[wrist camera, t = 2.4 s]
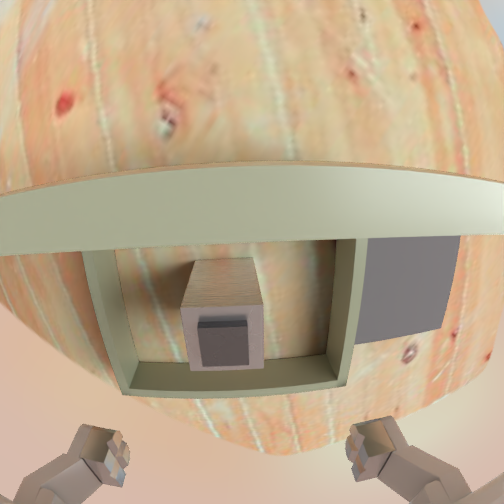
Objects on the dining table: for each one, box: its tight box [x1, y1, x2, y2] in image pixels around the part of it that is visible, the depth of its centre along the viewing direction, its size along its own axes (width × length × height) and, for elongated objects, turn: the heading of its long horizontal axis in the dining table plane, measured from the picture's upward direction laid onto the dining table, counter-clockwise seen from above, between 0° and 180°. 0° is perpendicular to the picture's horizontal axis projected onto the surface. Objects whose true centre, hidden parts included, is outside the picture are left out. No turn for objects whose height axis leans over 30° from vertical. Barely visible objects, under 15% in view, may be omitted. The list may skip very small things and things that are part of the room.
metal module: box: [180, 258, 264, 371], centre depth 18 cm, size 4×4×8 cm
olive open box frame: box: [0, 161, 504, 399], centre depth 13 cm, size 18×16×16 cm
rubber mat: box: [354, 235, 461, 345], centre depth 22 cm, size 10×12×1 cm
